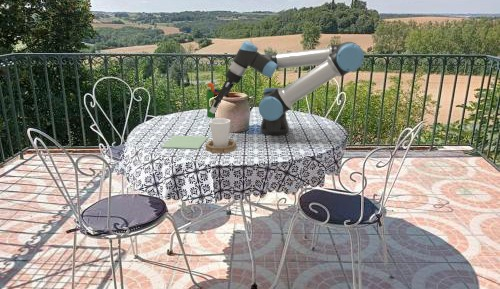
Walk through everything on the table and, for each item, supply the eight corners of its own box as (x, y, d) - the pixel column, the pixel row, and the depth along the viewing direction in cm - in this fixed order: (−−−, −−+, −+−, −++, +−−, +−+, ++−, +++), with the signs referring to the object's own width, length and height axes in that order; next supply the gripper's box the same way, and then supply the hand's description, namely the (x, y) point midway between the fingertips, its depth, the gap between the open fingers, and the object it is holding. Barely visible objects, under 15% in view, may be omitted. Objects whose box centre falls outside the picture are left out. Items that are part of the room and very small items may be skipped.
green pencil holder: (219, 118, 236) (218, 84, 229) (205, 117, 237) (203, 84, 231) (223, 114, 245) (222, 82, 239) (210, 113, 247) (208, 81, 241)
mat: (208, 137, 198) (208, 136, 198) (198, 149, 181) (198, 148, 181) (174, 136, 201) (174, 135, 200) (161, 147, 184) (161, 146, 184)
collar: (237, 144, 188) (237, 139, 187) (232, 153, 175) (232, 148, 174) (210, 143, 190) (210, 138, 189) (203, 152, 177) (203, 147, 176)
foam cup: (223, 152, 176) (222, 124, 172) (206, 149, 181) (205, 122, 177) (235, 146, 184) (234, 119, 180) (219, 143, 188) (218, 117, 184)
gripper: (233, 65, 199) (214, 100, 205) (223, 71, 175) (201, 110, 182) (246, 73, 199) (226, 108, 206) (237, 80, 175) (215, 119, 182)
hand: (214, 109), depth 194 cm, fingers open, 13 cm apart
